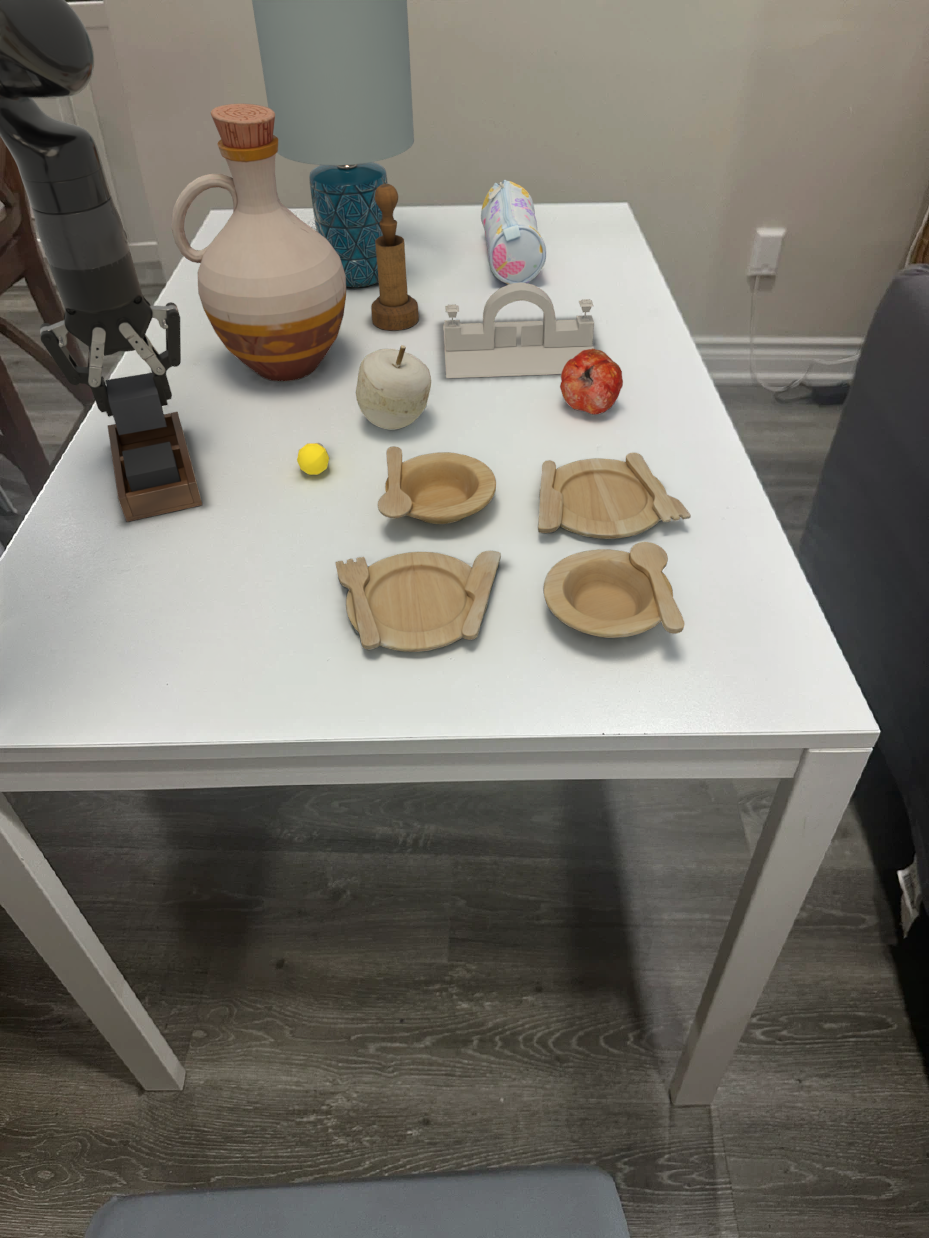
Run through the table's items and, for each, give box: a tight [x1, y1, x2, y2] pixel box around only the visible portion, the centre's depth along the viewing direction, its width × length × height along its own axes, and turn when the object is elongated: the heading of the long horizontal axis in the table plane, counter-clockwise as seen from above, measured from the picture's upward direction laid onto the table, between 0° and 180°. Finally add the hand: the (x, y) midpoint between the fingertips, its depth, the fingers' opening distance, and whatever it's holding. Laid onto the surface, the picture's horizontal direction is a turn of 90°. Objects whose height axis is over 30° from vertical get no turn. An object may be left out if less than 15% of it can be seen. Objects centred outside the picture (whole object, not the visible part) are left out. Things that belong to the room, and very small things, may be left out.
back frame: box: [107, 411, 203, 523], centre depth 96 cm, size 8×15×3 cm, turn 21°
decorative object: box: [355, 344, 432, 431], centre depth 100 cm, size 9×9×10 cm
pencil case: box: [480, 179, 547, 285], centre depth 133 cm, size 21×9×10 cm, turn 2°
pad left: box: [122, 442, 181, 492], centre depth 93 cm, size 5×5×4 cm
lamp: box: [251, 0, 415, 288], centre depth 120 cm, size 19×19×38 cm
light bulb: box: [296, 442, 330, 476], centre depth 97 cm, size 3×6×4 cm, turn 1°
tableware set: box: [334, 445, 692, 653], centre depth 85 cm, size 35×29×4 cm
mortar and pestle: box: [370, 183, 420, 331], centre depth 117 cm, size 7×6×18 cm
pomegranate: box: [559, 348, 624, 415], centre depth 103 cm, size 7×7×10 cm
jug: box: [171, 103, 347, 382], centre depth 103 cm, size 20×18×30 cm
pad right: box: [105, 372, 167, 435], centre depth 94 cm, size 5×5×4 cm
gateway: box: [442, 282, 595, 352], centre depth 114 cm, size 20×2×8 cm, turn 93°
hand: (137, 406), depth 95 cm, fingers closed on pad right, 5 cm apart
